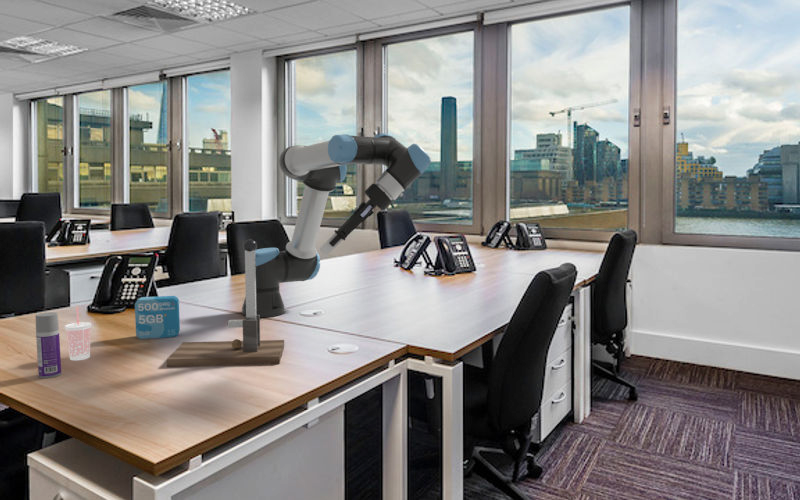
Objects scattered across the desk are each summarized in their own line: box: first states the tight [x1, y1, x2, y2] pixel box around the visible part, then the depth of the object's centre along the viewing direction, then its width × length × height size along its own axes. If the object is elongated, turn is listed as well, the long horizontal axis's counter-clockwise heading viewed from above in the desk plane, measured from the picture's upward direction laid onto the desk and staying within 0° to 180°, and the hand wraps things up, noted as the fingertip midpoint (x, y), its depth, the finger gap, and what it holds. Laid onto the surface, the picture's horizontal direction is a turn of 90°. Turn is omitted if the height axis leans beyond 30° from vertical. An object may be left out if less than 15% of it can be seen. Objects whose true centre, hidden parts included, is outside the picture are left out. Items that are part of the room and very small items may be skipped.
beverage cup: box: [64, 305, 92, 361], centre depth 149 cm, size 6×6×14 cm
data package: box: [134, 295, 181, 340], centre depth 172 cm, size 12×4×12 cm, turn 108°
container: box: [35, 311, 62, 379], centre depth 135 cm, size 5×5×15 cm
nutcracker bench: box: [166, 315, 285, 368], centre depth 152 cm, size 16×28×10 cm, turn 97°
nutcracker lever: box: [227, 238, 258, 328], centre depth 151 cm, size 4×8×24 cm, turn 97°
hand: (322, 253), depth 153 cm, fingers closed
